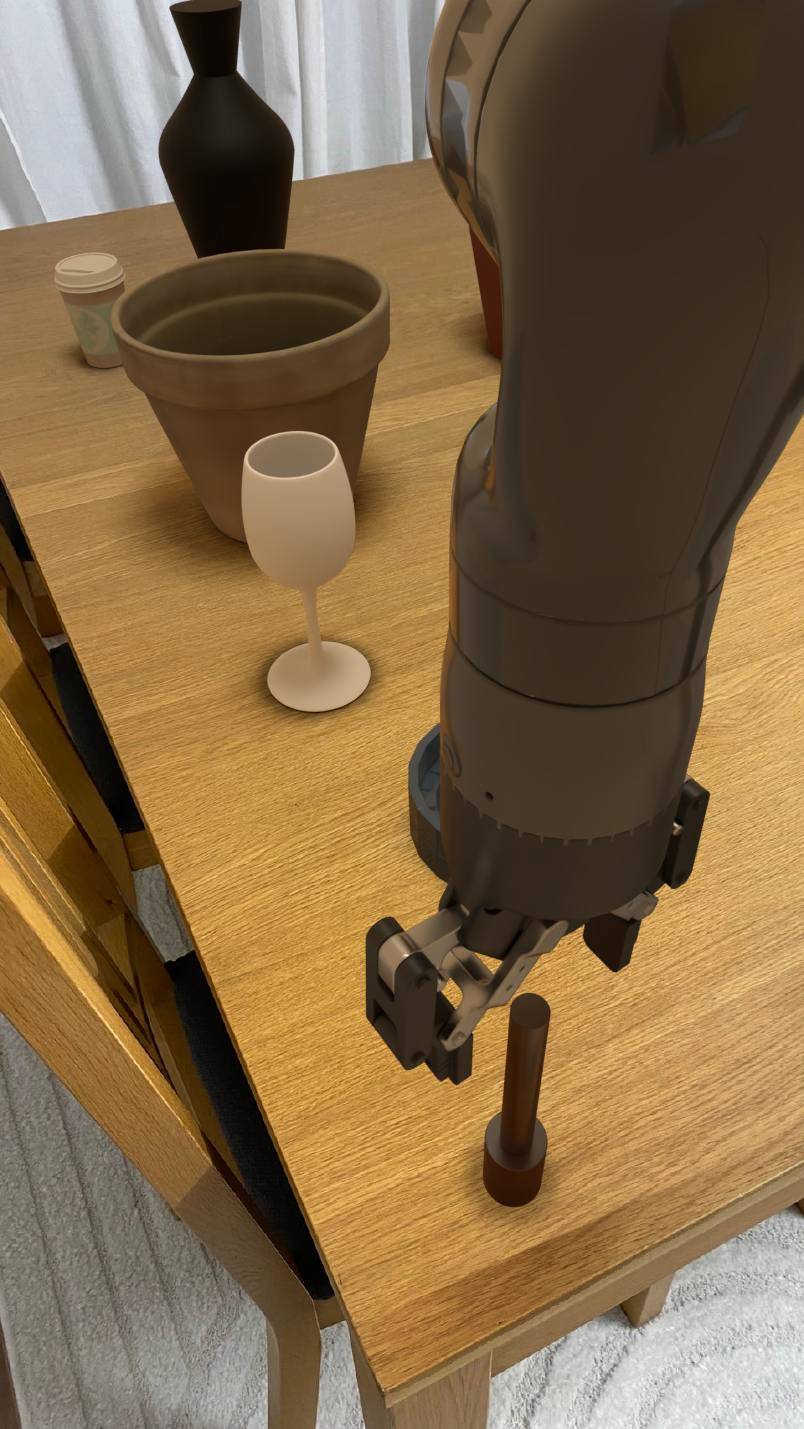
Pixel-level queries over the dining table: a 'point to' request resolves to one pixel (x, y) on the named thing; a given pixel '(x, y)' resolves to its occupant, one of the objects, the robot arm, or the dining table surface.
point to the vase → (225, 142)
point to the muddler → (519, 1109)
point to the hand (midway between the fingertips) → (529, 1006)
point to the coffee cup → (92, 302)
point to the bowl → (427, 803)
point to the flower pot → (254, 359)
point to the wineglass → (304, 557)
